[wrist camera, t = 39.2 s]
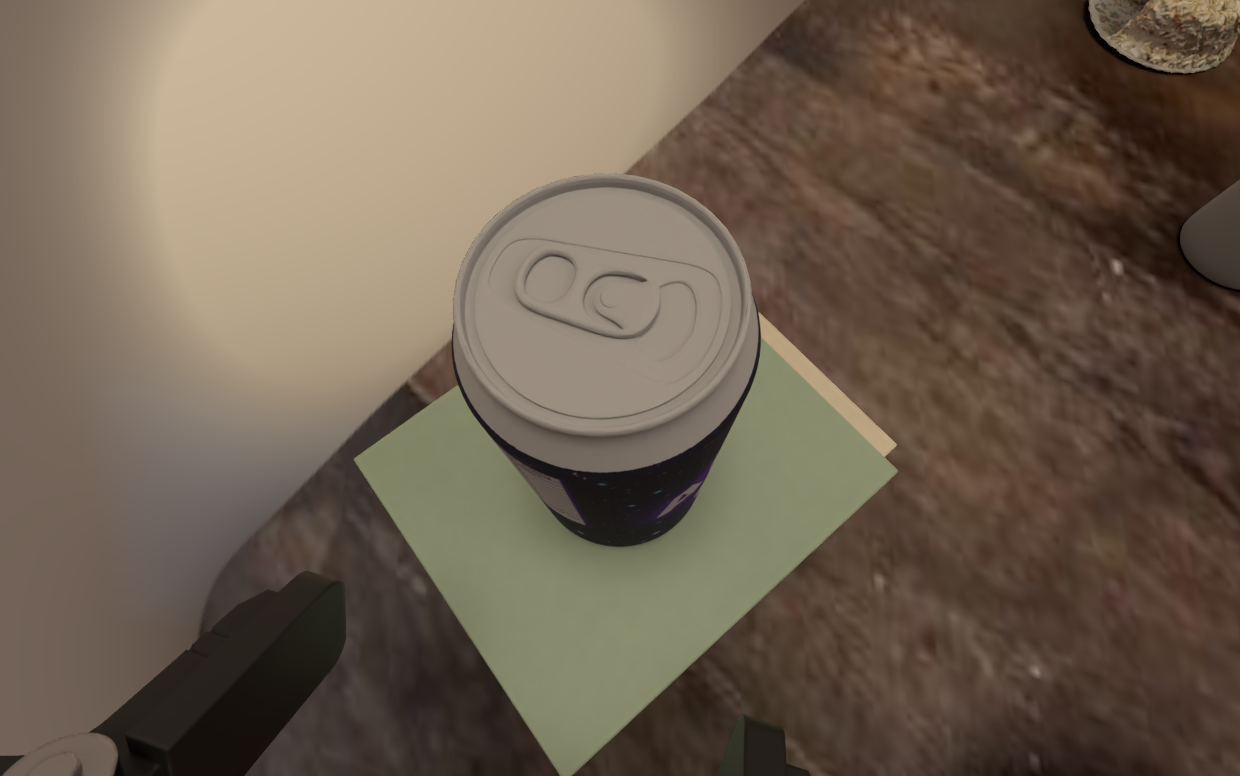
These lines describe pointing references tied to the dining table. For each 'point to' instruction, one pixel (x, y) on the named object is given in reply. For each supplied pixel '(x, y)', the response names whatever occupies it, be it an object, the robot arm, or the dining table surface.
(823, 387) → the drawer
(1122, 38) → the cake
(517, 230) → the beverage can
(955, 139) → the dining table surface
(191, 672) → the robot arm
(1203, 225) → the spray bottle
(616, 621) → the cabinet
